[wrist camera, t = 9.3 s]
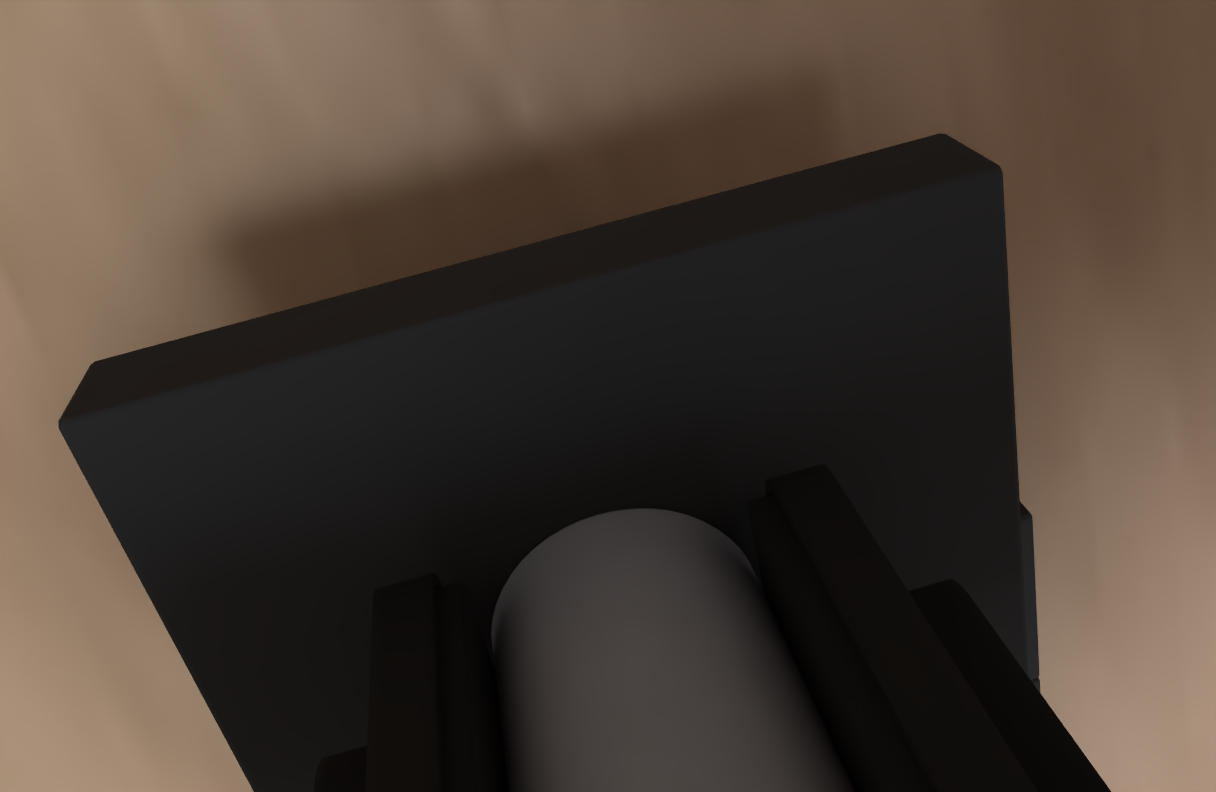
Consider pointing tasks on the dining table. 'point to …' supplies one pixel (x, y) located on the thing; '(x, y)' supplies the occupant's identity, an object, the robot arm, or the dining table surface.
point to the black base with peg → (581, 470)
